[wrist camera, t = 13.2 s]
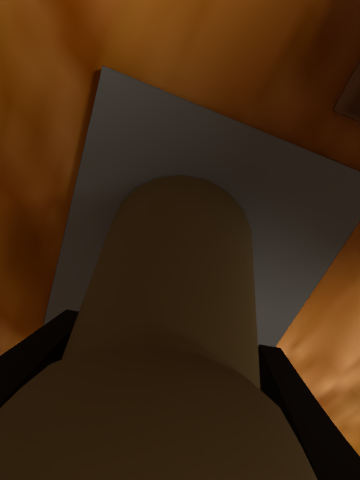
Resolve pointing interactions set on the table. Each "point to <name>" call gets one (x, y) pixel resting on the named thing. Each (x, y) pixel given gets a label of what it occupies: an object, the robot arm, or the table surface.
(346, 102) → the rail
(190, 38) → the table surface
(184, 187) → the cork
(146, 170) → the mat
